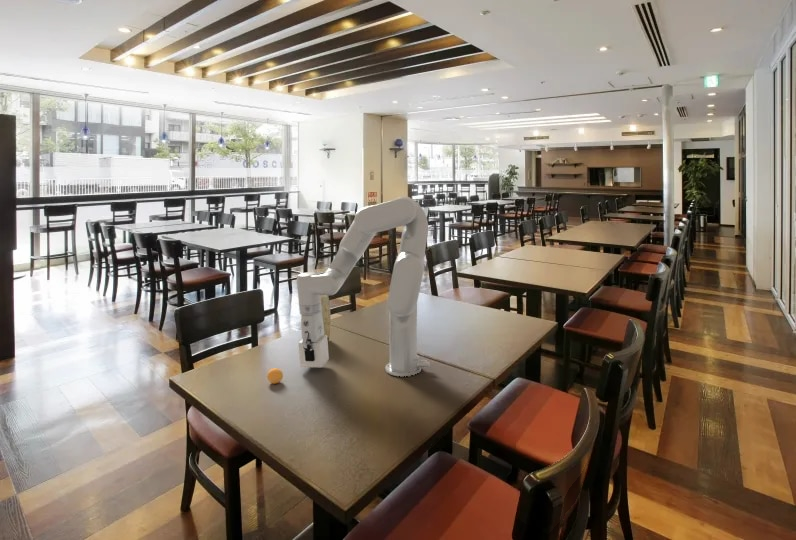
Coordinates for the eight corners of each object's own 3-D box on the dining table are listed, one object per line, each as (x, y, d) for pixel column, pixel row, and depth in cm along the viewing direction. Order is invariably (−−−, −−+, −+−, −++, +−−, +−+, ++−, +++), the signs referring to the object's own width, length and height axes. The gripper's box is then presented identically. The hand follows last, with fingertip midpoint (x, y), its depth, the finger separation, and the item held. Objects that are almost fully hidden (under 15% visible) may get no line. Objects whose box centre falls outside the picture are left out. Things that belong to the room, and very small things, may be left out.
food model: (317, 347, 182) (315, 298, 178) (306, 343, 187) (304, 296, 183) (335, 340, 190) (333, 294, 186) (324, 337, 194) (322, 291, 190)
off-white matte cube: (328, 358, 165) (327, 335, 163) (321, 367, 157) (319, 343, 155) (308, 358, 166) (306, 335, 164) (300, 366, 159) (298, 342, 157)
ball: (285, 380, 153) (284, 366, 152) (279, 386, 148) (278, 372, 147) (271, 379, 154) (270, 365, 153) (264, 385, 149) (263, 371, 148)
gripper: (311, 315, 149) (315, 366, 152) (328, 301, 165) (332, 347, 169) (290, 315, 150) (294, 365, 153) (309, 301, 167) (312, 347, 170)
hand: (314, 356), depth 161 cm, fingers closed on off-white matte cube, 7 cm apart
